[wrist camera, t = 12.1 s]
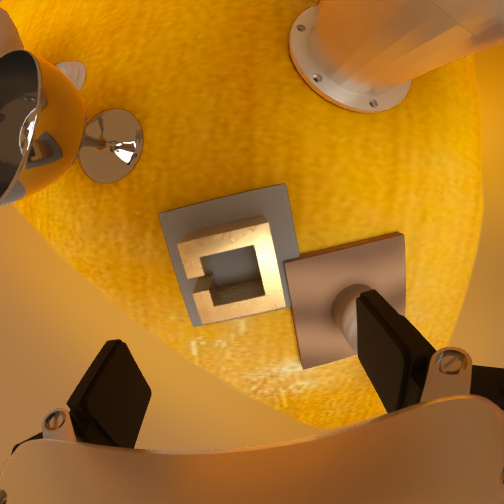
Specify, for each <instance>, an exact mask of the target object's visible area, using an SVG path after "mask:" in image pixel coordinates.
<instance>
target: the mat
mask: <svg viewBox="0 0 504 504" xmlns="http://www.w3.org/2000/svg"><path fill="white" fill-rule="evenodd" d="M158 215H159V219H160V222H161V226H162V230H163V233H164V237H165V240H166V244H167V247H168V251H169V254H170V258H171V261H172V264H173V267H174V271H175V274H176V277H177V280H178V283H179V286H180V290H181V293H182V296H183V299H184V302H185V304H186V307H187V310H188V313H189V316H190V319H191V322H192V325H193V327H196V326H201V325H207V324H212V323H217V322H222V321H227V320H232V319H237V318H242V317H247V316H252V315H256V314H261V313H265V312H270V311H274V310H279V309H283V308H287V307H291V306H292V305H291V300H290V294H289V289H288V284H287V278H286V273H285V268H284V263H283V261H287V260H291V259H296V258H300V256H299V250H298V245H297V239H296V234H295V228H294V223H293V218H292V213H291V208H290V203H289V198H288V193H287V188H286V184H280V185H275V186H271V187H266V188H261V189H257V190H252V191H247V192H243V193H239V194H234V195H230V196H226V197H221V198H217V199H213V200H209V201H205V202H201V203H197V204H193V205H189V206H185V207H182V208H178V209H174V210H170V211H167V212H163V213H160V214H158ZM261 215H264V217H265V218H266V219H267V221H268V222H269V227H270V232H271V236H272V241H273V246H274V251H275V255H276V260H277V265H278V270H279V275H280V280H281V285H282V290H283V295H284V300H285V305H286V307H282V308H278V309H274V310H269V311H265V312H260V313H256V314H251V315H247V316H242V317H237V318H232V319H227V320H222V321H217V322H212V323H207V324H202V321H201V318H200V315H199V312H198V309H197V307H196V304H195V300H194V297H193V294H192V293H193V290H194V288H195V285H196V283H197V280H198V277H195V278H190V279H187V275H186V272H185V269H184V266H183V262H182V259H181V256H180V252H179V249H178V245H177V244H178V243H179V241H180V240H181V239H182V238H183V237H184V236H185V235H186V234H187V233H189V232H193V231H197V230H202V229H206V228H210V227H214V226H218V225H222V224H226V223H231V222H235V221H239V220H243V219H248V218H252V217H257V216H261ZM209 259H210V260H209V263H208V266H207V269H206V272H205V274H208V273H214V277H215V280H216V284H217V287H219V286H224V285H228V284H233V283H237V282H242V281H246V280H251V279H255V278H260V277H261V272H260V268H259V264H258V259H257V255H256V251H255V246H254V245H250V246H246V247H241V248H237V249H232V250H228V251H224V252H220V253H215V254H211V255H209Z"/></svg>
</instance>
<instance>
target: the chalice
mask: <svg viewBox="0 0 504 504" xmlns="http://www.w3.org/2000/svg"><path fill="white" fill-rule="evenodd" d="M12 49H23V50H24V46H23V44H22V41H21V39H20V36H19V34H18V31H17V28H16V26H15V25H14V23H13V21H12V20H11V18H10V16H9V15H8V13H7V11H5V10H3V9H1V8H0V55H1V54H3V53H4V52H6V51H9V50H12ZM55 66H56V67H57V68H58V69H59V70H61V71H62V72H63V73H64V74H65V75H66V76H67V77H68V78H69V79H70V80H71V81H72V83H73V84H74V85H75V86H76V88H77V89H78V91H80V89H81V88H82V86H83V83H84V81H85V76H86V70H85V66H84V65H83V64H82V63H81V62H79V61H68V62H61V63H58V64H57V65H55Z"/></svg>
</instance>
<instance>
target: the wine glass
mask: <svg viewBox="0 0 504 504" xmlns="http://www.w3.org/2000/svg"><path fill="white" fill-rule="evenodd" d="M142 147H143V132H142V128H141V125H140V123H139V121H138V120H137V119H136V117H135V116H134V115H133V114H131V113H130V112H128V111H126V110H123V109H116V108H113V109H108V110H105V111H102V112H100V113H99V114H97V115H96V116H94V117H93V118H92V119H91V120H90V121H89V122H88V123H87V112H86V107H85V103H84V101H83V98H82V96H81V94H80V92H79V91H78V89H77V88H76V86H75V85H74V84H73V83H72V81H71V80H70V79H69V78H68V77H67V76H66V75H65V74H64V73H63V72H62V71H61V70H59V69H58V68H57V67H56V66H54V65H53V64H51V63H50V62H48V61H46V60H45V59H43V58H42V57H40V56H38V55H36V54H33V53H31V52H29V51H26V50H23V49H12V50H9V51H6V52H4V53H3V54H1V55H0V206H3V205H6V204H10V203H13V202H17V201H20V200H22V199H24V198H27V197H29V196H31V195H34V194H36V193H38V192H40V191H42V190H44V189H46V188H47V187H49V186H51V185H52V184H54V183H55V182H56V181H58V180H59V179H60V178H61V177H62V176H63V175H64V174H66V173H67V171H68V170H69V169H70V168H71V166H72V165H73V163H74V162H75V160H76V158H77V156H78V160H79V164H80V166H81V169H82V170H83V172H84V173H85V175H86V176H88V177H89V178H90V179H91V180H93V181H95V182H98V183H104V184H107V183H113V182H116V181H118V180H120V179H122V178H124V177H125V176H126V175H128V174H129V173H130V172H131V171H132V169H133V168H134V167H135V165H136V164H137V162H138V160H139V158H140V155H141V152H142Z"/></svg>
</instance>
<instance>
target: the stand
mask: <svg viewBox="0 0 504 504" xmlns="http://www.w3.org/2000/svg"><path fill="white" fill-rule="evenodd" d="M299 256H300V258H296V259H291V260H287V261H283V263H284V268H285V273H286V278H287V284H288V289H289V294H290V300H291V305H292V306H291V309H292V314H293V320H294V325H295V331H296V337H297V343H298V349H299V354H300V360H301V365H302V368H303V370H304V369H308V368H312V367H315V366H319V365H323V364H326V363H330V362H333V361H337V360H340V359H343V358H347V357H350V356H353V355H356V354H358V353H357V314H356V298H357V297H360V293H361V292H365V291H369V290H372V289H375V290H376V291H377V292H378V293H379V294H380V295H381V296H382V297H383V298H384V299H385V300H386V301H387V302H388V303H389V304H390V305H391V306H392V307H393V308H394V309H395V310H396V311H397V312H398V313H399V314H400V315H403V316H404V317H405V300H406V265H405V241H404V234H402V233H399V232H395V233H391V234H387V235H383V236H379V237H375V238H371V239H367V240H363V241H359V242H354V243H350V244H346V245H342V246H338V247H333V248H329V249H325V250H321V251H316V252H312V253H308V254H303V255H299Z"/></svg>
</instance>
